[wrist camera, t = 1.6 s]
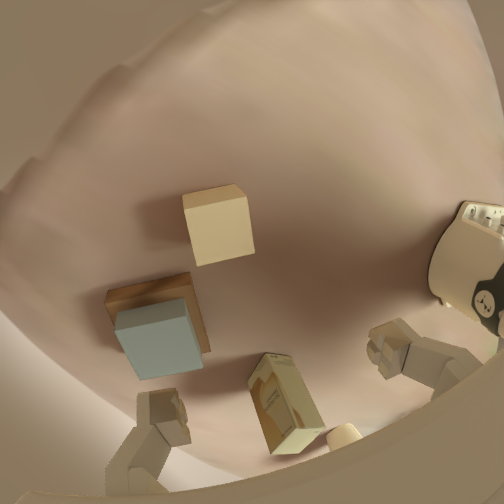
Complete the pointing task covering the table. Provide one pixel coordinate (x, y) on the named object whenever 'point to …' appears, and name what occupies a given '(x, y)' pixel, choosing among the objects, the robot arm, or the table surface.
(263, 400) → the skincare box
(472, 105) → the table surface
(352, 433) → the foam cup
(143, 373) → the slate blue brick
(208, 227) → the cream brick
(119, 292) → the walnut base brick
